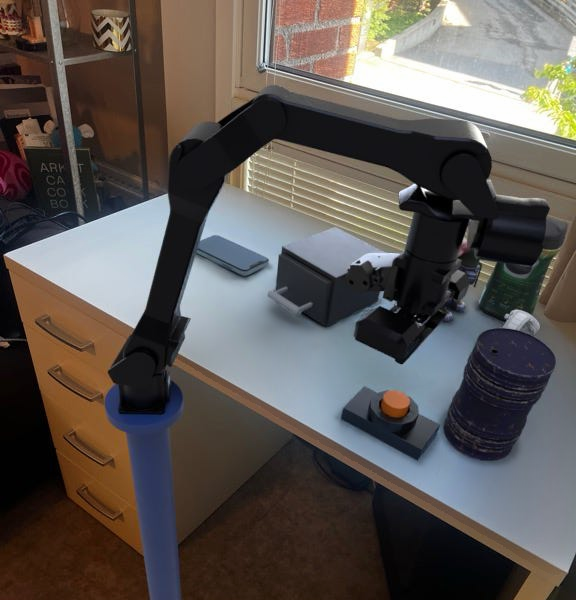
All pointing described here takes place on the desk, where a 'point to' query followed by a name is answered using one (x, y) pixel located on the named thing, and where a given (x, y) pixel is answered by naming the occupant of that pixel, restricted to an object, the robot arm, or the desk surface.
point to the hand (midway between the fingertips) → (399, 362)
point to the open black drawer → (301, 288)
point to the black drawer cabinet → (335, 268)
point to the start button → (395, 403)
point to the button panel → (390, 423)
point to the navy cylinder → (497, 393)
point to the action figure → (471, 269)
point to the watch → (521, 322)
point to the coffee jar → (522, 277)
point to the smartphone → (231, 255)
